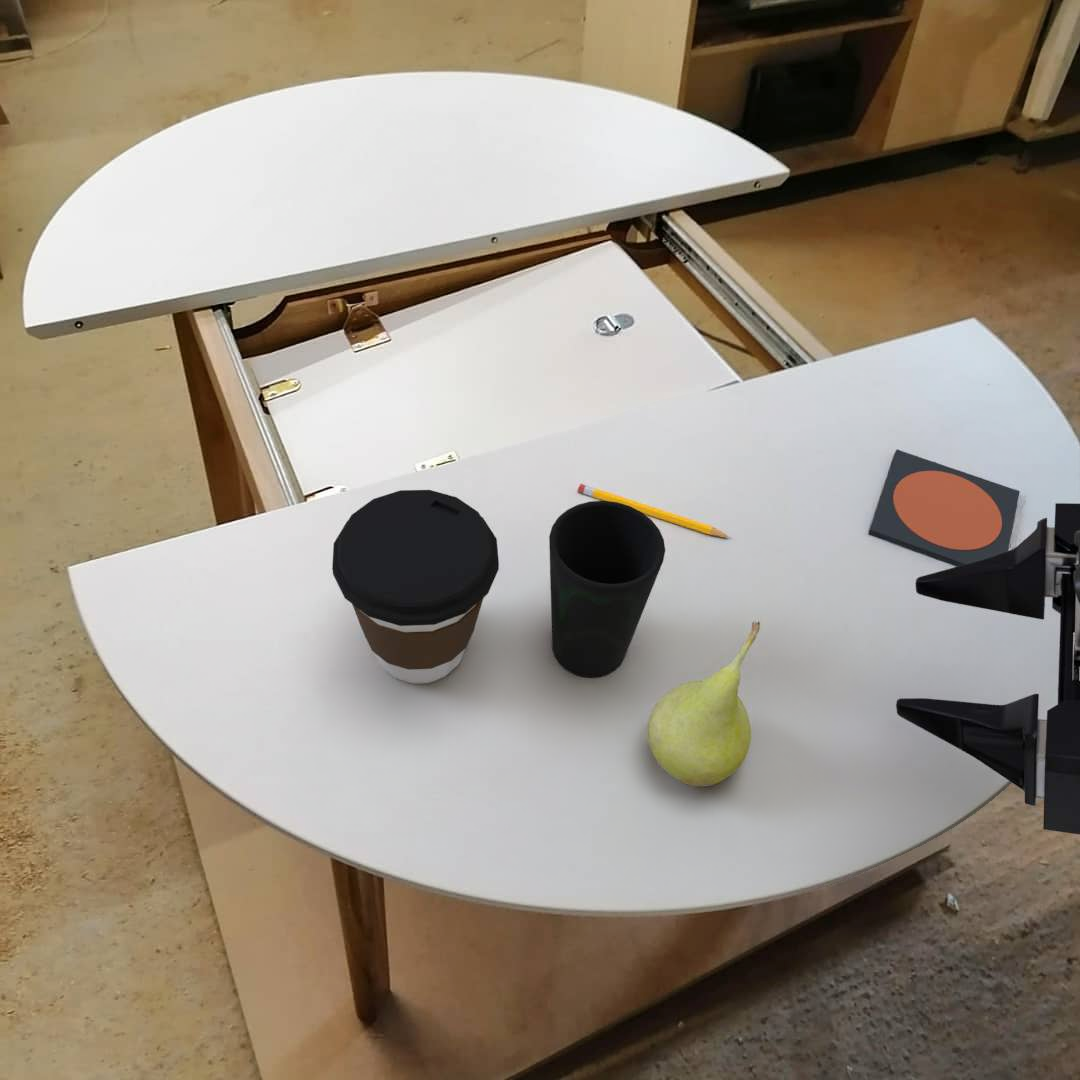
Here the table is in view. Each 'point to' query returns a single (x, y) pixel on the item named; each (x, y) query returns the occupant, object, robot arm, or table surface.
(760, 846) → the table surface
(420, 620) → the coffee cup
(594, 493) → the pencil
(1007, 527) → the mat
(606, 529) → the cup
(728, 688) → the fruit
